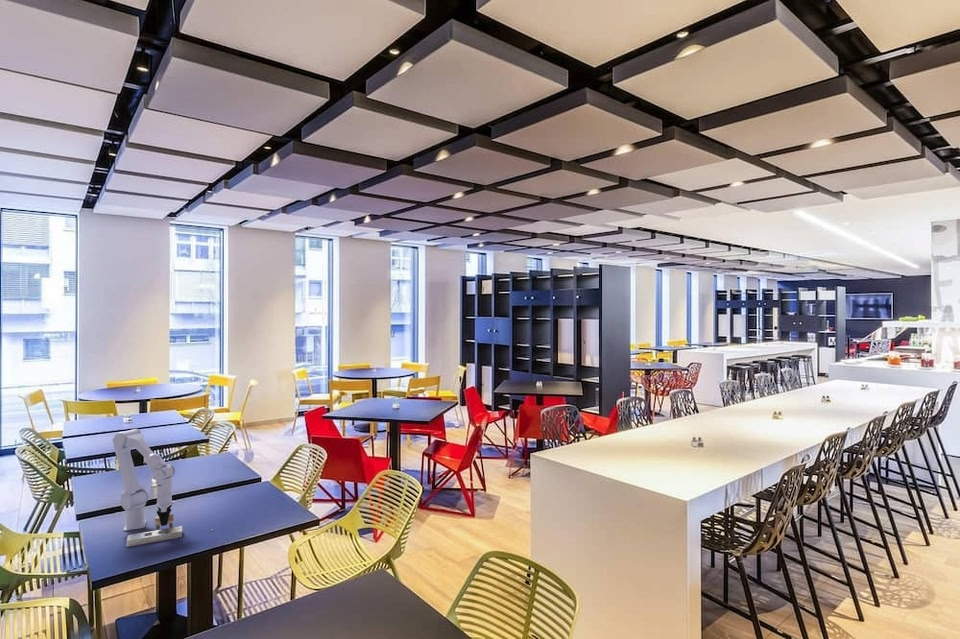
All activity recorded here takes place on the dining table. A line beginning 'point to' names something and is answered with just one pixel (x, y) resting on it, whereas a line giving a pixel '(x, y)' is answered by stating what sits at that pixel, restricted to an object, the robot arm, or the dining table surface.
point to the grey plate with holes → (154, 536)
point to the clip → (170, 522)
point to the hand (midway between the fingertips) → (164, 523)
